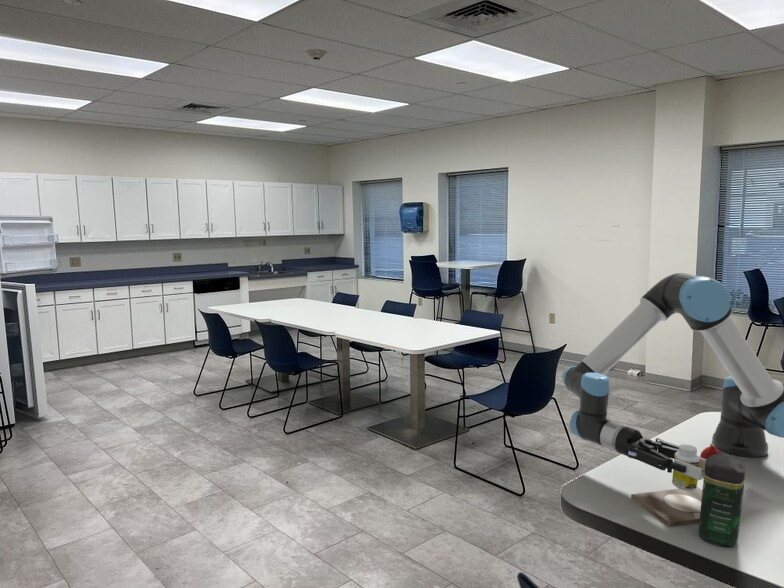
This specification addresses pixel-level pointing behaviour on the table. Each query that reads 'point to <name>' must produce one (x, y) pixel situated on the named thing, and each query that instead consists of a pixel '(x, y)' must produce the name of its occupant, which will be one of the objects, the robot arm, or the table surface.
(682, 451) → the supplement bottle
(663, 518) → the brown flat board
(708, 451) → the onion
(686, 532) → the table surface
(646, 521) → the table surface
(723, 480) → the coffee jar
